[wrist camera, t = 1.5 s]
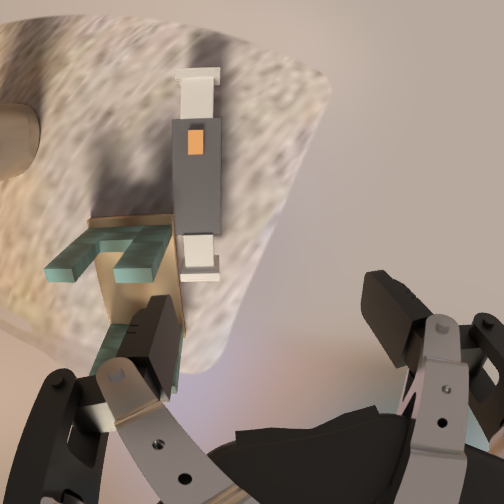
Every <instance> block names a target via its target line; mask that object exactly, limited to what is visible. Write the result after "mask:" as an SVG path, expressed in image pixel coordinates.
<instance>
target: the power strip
mask: <svg viewBox="0 0 504 504" xmlns="http://www.w3.org/2000/svg"><path fill="white" fill-rule="evenodd" d="M174 78H175V80H176V81H177V82H178V83H179V85H180V86H181V104H180V119H175V120H172V173H173V199H174V217H175V232H176V235H183V240H184V254H185V256H184V260H183V264H182V268H181V272H180V278H181V282H197V281H220V274H219V255H214V234H221V199H220V176H221V118H213V108H214V85H220V67H207V68H184V69H175V76H174Z"/></svg>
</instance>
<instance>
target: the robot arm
mask: <svg viewBox="0 0 504 504" xmlns="http://www.w3.org/2000/svg"><path fill="white" fill-rule="evenodd" d="M39 135H40V130H39V122H38V118H37V116H36V114H35V112H34V110H33V109H32V108H31V107H29V106H28V105H25V104H15V103H0V181H3V180H6V179H9V178H12V177H14V176H18V175H20V174H21V173H23V172H24V171H25V170H26V169H28V167H29V166H30V164H31V163H32V161H33V159H34V157H35V155H36V152H37V149H38V144H39ZM361 312H362V315H363V317H364V319H365V320H366V322H367V323H368V325H369V326H370V328H371V329H372V331H373V333H374V334H375V336H376V337H377V339H378V340H379V342H380V343H381V345H382V347H383V348H384V350H385V351H386V353H387V354H388V356H389V358H390V359H391V361H392V362H393V364H394V366H395V367H396V368H400V367H403V366H406V365H407V366H408V368H409V369H408V371H407V374H406V379H405V383H404V387H403V392H402V395H401V400H400V403H399V407H398V410H397V413H396V414H389V413H379V412H378V410H377V408H376V406H375V405H373V406H370V407H367V408H363V409H360V410H356V411H352V412H349V413H345V414H343V415H341V416H339V417H336V418H334V419H332V420H330V421H328V422H326V423H324V424H322V425H319V426H317V427H315V428H313V429H287V428H264V429H255V430H244V431H235V433H236V440H235V441H232V442H229V443H227V444H224V445H221V446H220V447H217V448H216V449H214V450H212V451H211V452H209V453H208V454H205V453H204V452H203V451H202V450H201V449H200V448H199V446H198V445H197V444H196V443H195V442H194V441H193V440H192V439H191V437H190V436H189V435H188V434H187V433H186V432H185V430H184V429H183V428H182V427H181V425H180V424H179V423H178V422H177V421H176V419H175V418H174V417H173V416H172V414H171V413H170V412H169V410H168V409H167V408H166V407H165V405H164V404H163V403H162V402H169V401H170V395H171V389H172V383H173V377H174V371H175V365H176V360H177V354H178V349H179V343H180V327H179V323H178V320H177V316H176V312H175V309H174V305H173V301H172V298H171V296H170V295H169V294H168V295H155V296H151V298H150V300H149V302H148V305H147V307H146V308H143V309H140V310H139V311H138V312H137V313H136V314H135V315H134V316H133V317H132V319H131V321H130V324H129V327H128V328H127V331H126V334H125V335H124V338H123V340H122V342H121V345H120V347H119V349H118V352H117V354H116V357H115V358H112V359H110V360H107V361H106V362H104V363H103V364H102V365H101V366H100V367H99V368H98V370H97V372H96V375H93V376H88V377H83V378H78V379H77V378H76V376H75V375H74V373H73V372H72V371H71V370H69V369H65V368H64V369H58V370H55V371H53V372H52V373H50V374H49V375H48V376H47V377H46V379H45V380H44V383H43V385H42V387H41V389H40V391H39V393H38V396H37V398H36V400H35V403H34V405H33V407H32V410H31V413H30V415H29V417H28V420H27V422H26V426H25V428H24V430H23V433H22V436H21V439H20V442H19V445H18V448H17V451H16V454H15V457H14V460H13V464H12V467H11V471H10V475H9V478H8V483H7V487H6V491H5V496H4V501H3V504H98V500H99V491H100V483H101V476H102V469H103V463H104V457H105V451H106V445H107V440H108V435H109V432H111V431H118V433H119V435H120V437H121V439H122V441H123V442H124V444H125V446H126V448H127V449H128V451H129V453H130V454H131V456H132V458H133V460H134V461H135V463H136V464H137V466H138V468H139V469H140V471H141V472H142V474H143V475H144V477H145V478H146V480H147V481H148V482H149V484H150V485H151V487H152V488H153V490H154V491H155V493H156V494H157V495H158V497H159V498H160V499H161V500H160V501H159V502H158V503H157V504H504V325H503V324H502V323H501V322H500V321H499V320H498V319H497V318H496V317H494V316H493V315H491V314H488V313H478V314H476V315H475V317H474V319H473V322H472V324H471V325H458V324H457V322H456V321H455V320H454V319H452V318H451V317H449V316H446V315H443V314H433V313H432V312H431V311H430V310H429V309H428V308H427V307H426V306H425V305H424V304H423V303H422V302H421V301H420V300H419V299H418V298H416V296H415V295H414V294H413V293H412V292H411V291H410V290H409V289H408V288H407V287H406V286H405V285H404V284H403V283H401V282H399V281H397V280H395V279H392V278H391V277H390V276H389V275H388V274H387V273H386V272H385V271H384V270H378V271H371V272H367V273H366V274H365V277H364V284H363V291H362V298H361ZM487 358H489V360H490V361H491V362H492V363H493V365H494V366H495V367H496V369H497V370H498V372H499V382H498V384H497V385H496V386H495V384H494V383H493V381H492V380H491V378H490V377H489V376H488V374H487V373H486V371H485V370H484V369H483V365H484V363H485V361H486V360H487ZM468 405H469V407H470V408H471V410H472V412H473V414H474V415H475V417H476V419H477V421H478V423H479V424H480V426H481V428H482V430H483V432H484V434H485V436H486V438H487V440H488V442H489V451H488V452H485V451H483V450H480V449H478V448H475V447H473V446H470V445H468V444H465V437H466V428H467V416H468ZM71 425H73V426H72V429H71V433H70V437H69V441H68V444H67V439H68V435H69V432H70V428H71Z"/></svg>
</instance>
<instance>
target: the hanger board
mask: <svg viewBox="0 0 504 504" xmlns="http://www.w3.org/2000/svg"><path fill="white" fill-rule="evenodd" d="M87 224H88V230H86V231H85V232H84V233H83V234H82V235H80V236H79V237H78V238H77V239H76V240H75V241H74V242H72V243H71V244H70V245H69V246H68V247H67V248H66V249H65V250H63V251H62V252H61V253H60V254H59V255H58V256H57V257H56V258H55V259H54V260H53V261H52V262H50V263H49V264H48V265H47V266H46V267H45V268H44V271H45V275H46V278H47V281H48V282H76V281H77V279H78V278H79V277H80V276H81V274H82V273H83V272H84V271H85V270H86V268H87V267H88V266H89V265H90V264H91V262H92V261H93V260H94V262H95V267H96V271H97V276H98V280H99V284H100V288H101V292H102V296H103V300H104V303H105V307H106V310H107V314H108V317H109V320H110V324H111V325H110V327H109V329H108V331H107V334H106V336H105V338H104V340H103V343H102V345H101V347H100V350H99V352H98V354H97V357H96V359H95V362H94V364H93V367H92V369H91V372H90V374H89V376H93V375H96V372H97V370H98V368H99V367H100V366H101V365H102V364H103V363H104V362H106V361H107V360H110V359H112V358H115V357H116V354H117V352H118V349H119V347H120V345H121V342H122V340H123V338H124V335H125V334H126V331H127V328H128V327H129V324H130V321H131V319H132V317H133V316H134V315H135V314H136V313H137V312H138V311H139V310H140V309H143V308H146V307H147V305H148V302H149V300H150V298H151V296H155V295H168V294H169V295H170V296H171V298H172V301H173V305H174V309H175V312H176V316H177V320H178V323H179V327H180V343H179V349H178V354H177V360H176V365H175V371H174V377H173V383H172V389H171V393H177V388H178V378H179V368H180V359H181V350H182V341H183V338H185V335H186V331H185V324H184V317H183V309H182V302H181V293H180V285H179V275H178V266H177V255H176V243H175V230H174V215H173V214H150V215H131V216H114V217H98V218H90V219H89V220H87Z"/></svg>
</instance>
